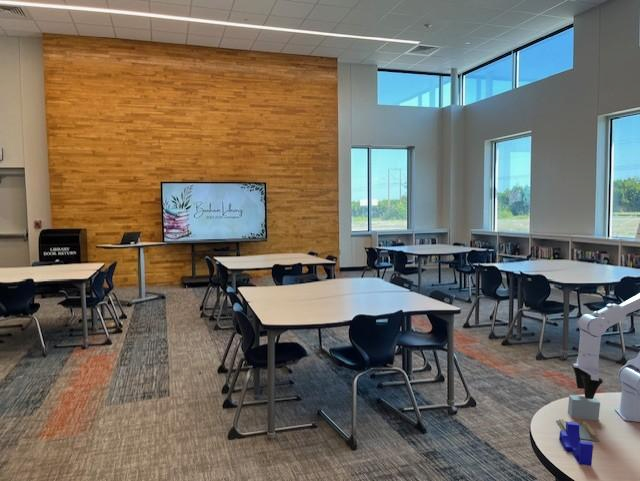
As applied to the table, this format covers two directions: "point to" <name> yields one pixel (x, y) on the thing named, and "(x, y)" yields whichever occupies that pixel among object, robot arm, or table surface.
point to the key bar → (583, 407)
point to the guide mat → (581, 432)
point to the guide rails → (583, 425)
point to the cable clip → (576, 444)
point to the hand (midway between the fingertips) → (584, 393)
